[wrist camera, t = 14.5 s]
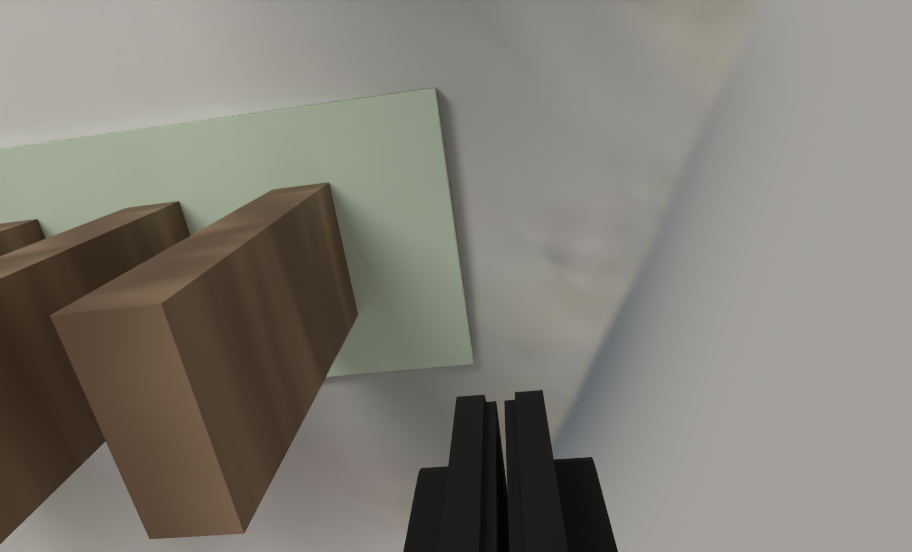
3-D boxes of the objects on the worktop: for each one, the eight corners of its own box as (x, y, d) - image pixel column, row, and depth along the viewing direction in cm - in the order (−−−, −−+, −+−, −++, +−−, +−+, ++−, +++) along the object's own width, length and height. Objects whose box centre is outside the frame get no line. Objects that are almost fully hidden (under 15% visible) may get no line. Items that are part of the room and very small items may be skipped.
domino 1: (178, 201, 22) (-130, 334, 11) (220, 329, 24) (-4, 548, 13) (125, 207, 23) (-229, 345, 11) (171, 333, 25) (-90, 553, 14)
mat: (435, 87, 21) (434, 88, 20) (473, 358, 25) (473, 364, 24) (-385, 203, 24) (-401, 206, 24) (-230, 421, 29) (-242, 427, 28)
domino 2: (329, 182, 22) (161, 303, 11) (358, 315, 24) (243, 533, 13) (272, 189, 22) (50, 315, 11) (306, 320, 24) (149, 538, 13)
